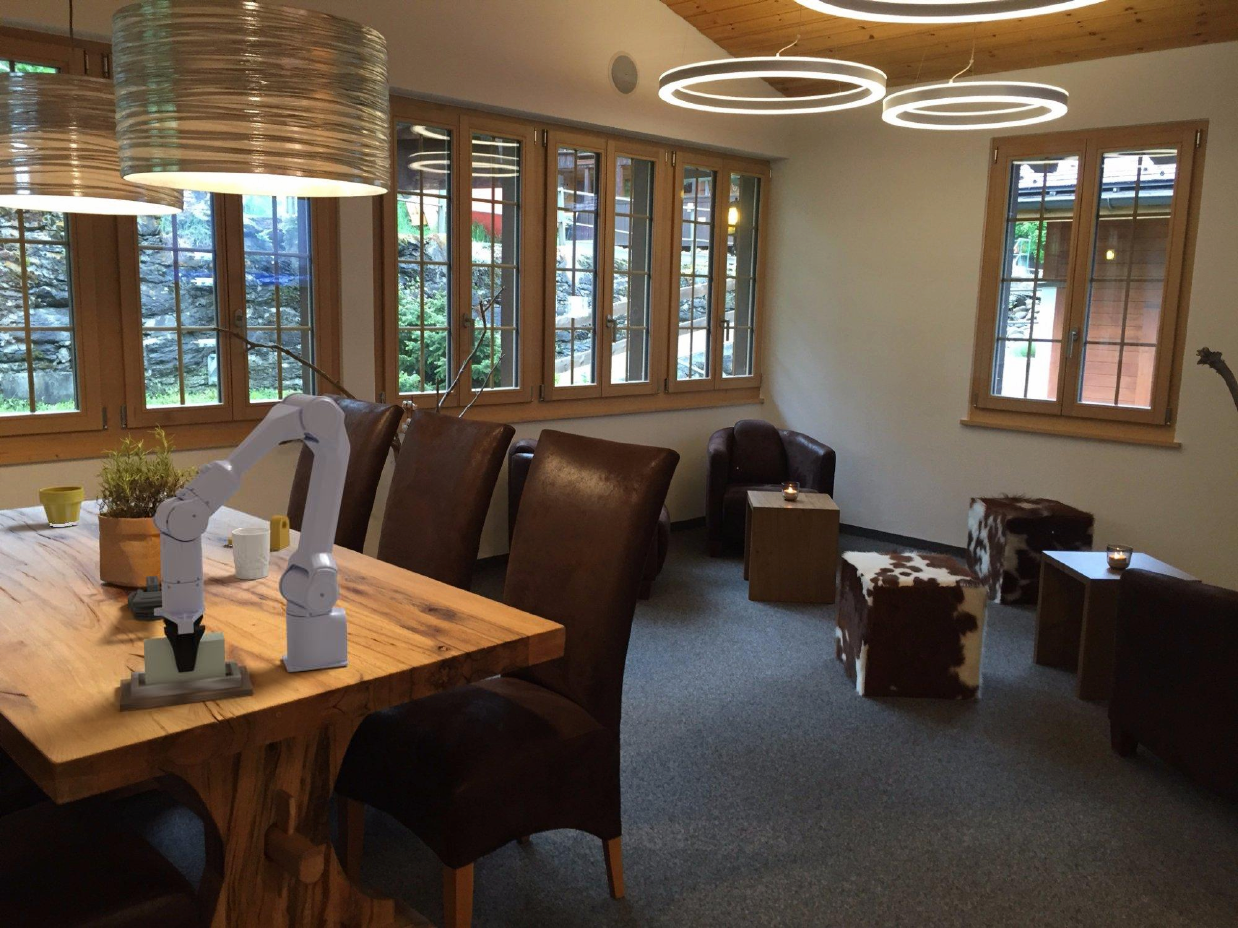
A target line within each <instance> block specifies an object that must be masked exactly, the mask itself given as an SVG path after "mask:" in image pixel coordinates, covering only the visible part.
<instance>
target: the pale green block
mask: <svg viewBox="0 0 1238 928" xmlns="http://www.w3.org/2000/svg"><path fill="white" fill-rule="evenodd" d="M225 641H226V640H225V635H224V632H223V631H217V632H214V631H213V632H206V633H205V632H204V634H203V636H202V638H201V640H200V643H199V646H198V651H197V657H196V664H195V668H194V671H192V672H183V673H179V672H178V669H177V666H176V661H175V657H174V652H173V649H172V646H171V644H170V642H169V640H168V638H167V637H166V636H164V637H156V638H144V639H143V658H144V671H145V683H146V686H148V685H157V684H165V683H174V682H182V681H191V680H199V679H208V678H216V677H225V676H226V672H225V662H226V645H225V644H226V643H225Z"/></svg>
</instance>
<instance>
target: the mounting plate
mask: <svg viewBox="0 0 1238 928" xmlns="http://www.w3.org/2000/svg"><path fill="white" fill-rule="evenodd" d="M225 672H226V676H225V677H216V678H208V679H199V680H191V681H182V682H174V683H165V684H157V685H148V686H146V683H145V670H138V671H130V678H125V679H120V682H119V683H120V686H119V687H120V688H119V712H125V711H126V712H127V711H134V710H135V711H136V710H141V709H142V710H144V709H151V708H158V707H167V706H174V705H182V704H191V703H198V702H206V701H214V700H215V701H216V700H222V699H232V698H239V697H245V696H246V697H247V696H253V695H254V688H253V684H252V681H251V678H250V674H249V670H248V667H247V665H238V661H237V660H229V661H228V660H227V661H226V660H225Z"/></svg>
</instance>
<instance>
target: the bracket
mask: <svg viewBox="0 0 1238 928" xmlns="http://www.w3.org/2000/svg"><path fill="white" fill-rule="evenodd" d="M269 529H270V549H271V550H270V551H273V550H281V551H283V550H282V549H284V548H286V547H288V546H290V547H291V543H290V538H291V537H290V520H289V517H288V516H286V515H272V517H271V519H270V521H269ZM227 544H228V545H232V536H230V537H228V538H227ZM228 545H227V546H228ZM284 550H285V549H284Z"/></svg>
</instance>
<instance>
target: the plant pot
mask: <svg viewBox="0 0 1238 928" xmlns="http://www.w3.org/2000/svg"><path fill="white" fill-rule="evenodd" d="M38 497H39V503H40V504H42V506H43V509H44V512H45V515H46V519H47V522H48V524H49V523H52V524H65V523H69V522H76V521H78V520H80V514H81V508H82V502H83V501H84V500H85V490H84V487H83V486H80V485H79V486H78V485H61V486H60V485H59V486H49V487H44V488H41V489H39V491H38Z"/></svg>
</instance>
